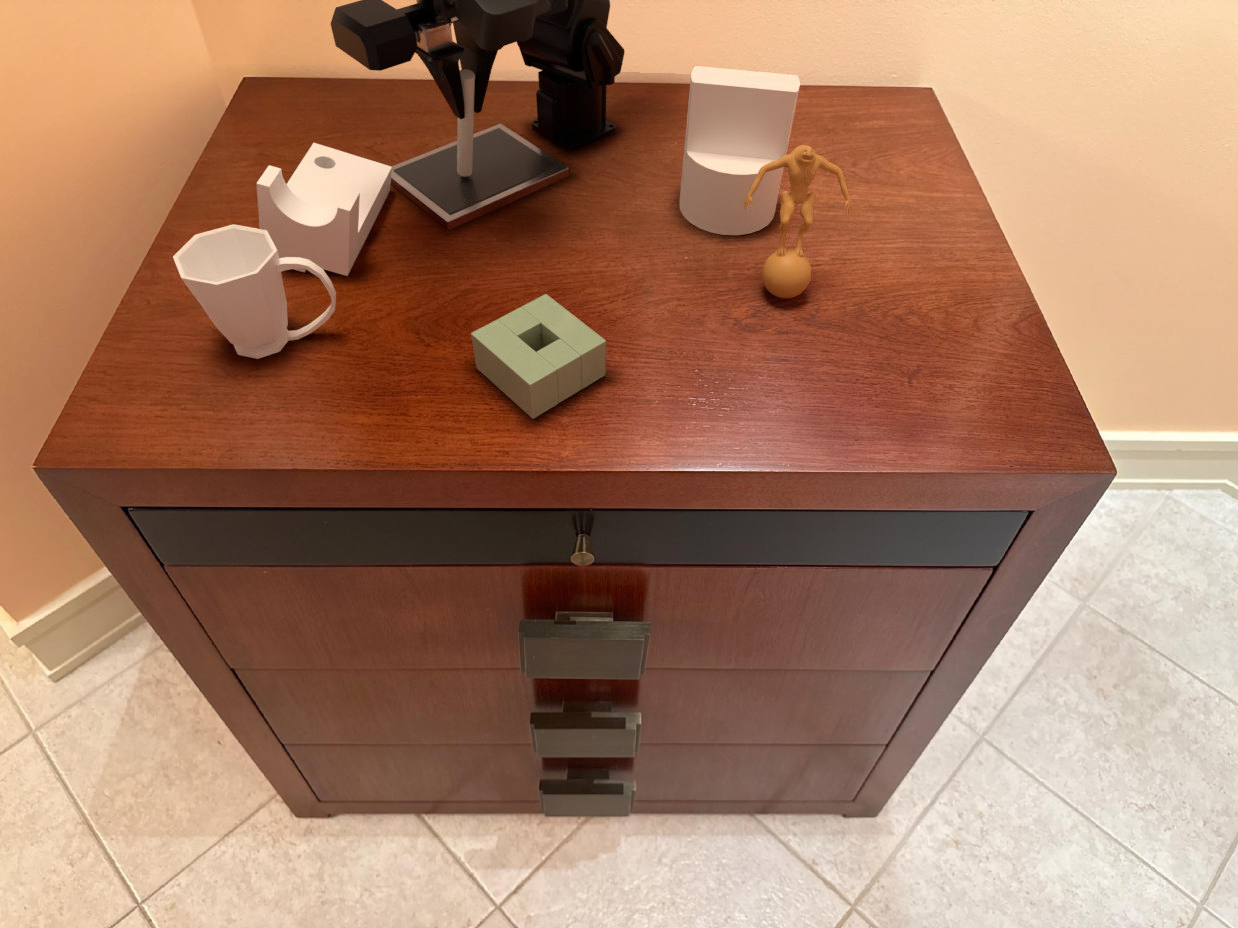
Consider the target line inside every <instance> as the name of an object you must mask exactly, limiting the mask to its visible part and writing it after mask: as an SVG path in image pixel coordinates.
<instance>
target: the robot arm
mask: <svg viewBox="0 0 1238 928" xmlns="http://www.w3.org/2000/svg"><path fill="white" fill-rule="evenodd" d="M610 10H611V1H610V0H416V3H413V4H410V5H407V6H403V7H400V8H396V7H394V6H392V5H391V4H389V3H387V2H386V1H384V0H357V1H354V2H350V3H347V4H343V5H340V6H336V7H335V9H334V11H333V14H332V16H331V21H330V27H331V32H332V36H333V40H334V45H335V47H336V48H337V49H339V50H341V52H342V53H345V54H346V55H348V56H349V57H350V58H352V59H353V60H354V61H356V62H358V63H359V64H360V65H362V66H363V67H365V68H367V69H368V70H369V71H379V72H381V71H384V70H387V69H391V68H394V67H397V66H400V65H402V64H405V63H409V62H411V61H412V59H413V57H414V56H415V54H416V55H417V56H418V57H419V59H420V60H421V61H422V63H423V64H424V66H425V67H426V69H427V70H428V72H429V73H430V76H431V77H432V78H433V81H434V82H435V84H436V85H437V88H438V89H439V91H440V93H441V94H442V96H443V98H444V99H445V101H446V103H447V105H448V107H449V108H450V110H451V112H452V114H453V115H454V116H455V117H456V118H457V117H458V118H459V119H463V118H465V105H464V97H463V90H462V83H461V77H460V70H463V69H468V70H471V71H472V72H473V73H474V74H475V92H474V113H476V114H479V113H481V112H482V110H483V105H484V101H485V98H486V94H487V89H488V86H489V82H490V78H491V74H492V69H493V66H494V63H495V60H496V57H497V56H498V55H497V54H498V52H499V51H500V50H502V49H503V48H504V47H505V46H508V45H511V44H515V43H516V44H517V46H518V49H519V51H520V55H521V57H522V61H523V63H524V66H526V67H529V68H530V67H531V68H535V69H538V70H540V71H538V72H537V77H538V79H537V80H538V89H537V90H536V92H535V97H536V114H537V119H534V120H532V121H531V128H532V129H534V130H536V131H537V132H539V133H540V134H542V135H543V136H545V137H546V138H548V139H549V140H551V141H553V142H554V143H556V144H557V145H559V146H561V147H563V148H564V149H565V150H568V151H573V150H576V149H578V148H581V147H583V146H585V145H587V144H590V143H592V142H594V141H597V140H599V139H602V138H604V137H607V136H608V135H611V134H613V133H615V132H617V125H616V124H614V123H613V122H611V121H609V120H608V119H607V86H613V84H615V82H616V77H617V76H618V75H620V74H621V71H622V67H623V62H624V58H625V48H624V47H623V46H622V44H620V42H619V41H618V40H617V39H616V38H615V36H614V35H613V34H612V33H611V32H610V30H609V29H608V23H609V22H608V21H609V16H610ZM452 25H453V31H454V37H455V41H454V40H453V35H452ZM460 68H461V69H460Z"/></svg>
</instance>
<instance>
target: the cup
mask: <svg viewBox="0 0 1238 928" xmlns="http://www.w3.org/2000/svg"><path fill="white" fill-rule="evenodd" d="M172 258H173V261H174V263H175V266H176V268H177V271H178V273H179V274H178V275H179V276H180V278H181V280H182V281H183V283H184V284H185V286H186V287H187V288H188V290H189V291H190V293H191V294H192V295H193V297H194V298H195V299H196V301H197V302H198V303H199V305H200V306H201V308H202V309H203V311H204V313H205V314H206V315H207V317H208V318H209V320H210V321H211V322H212V324H213V325H214V326H215V328H216V329H217V330H218V331H219V333H221V334H222V335H223V336H224V337H225V339H226V340H227V341H228V342H229V343H230V344H232V345H233V348H234V349H235V352H236V354H237V355H238V356H241V357H247V358H252V359H257V360H259V359H261V358H264V357H267V356H271V355H274V354H276V353H279V352H281V351H282V349H283V348H284V347H285V346H286V344H287V343H288V342H289V341H296V340H300V339H302V338H305V337H306V336H309V335H310V334H312V333H313V332H315V331H316V330H317V329H319V328H320V327H321V326H323V325H324V324H325V323H326V322H328V321H329V320H330V318H331V316H332V315H333V314H334V313H335V311H336V305H337V291H336V289H335V286H334V284H333V282H332V280H331V279H330V277H329V276H328V274H327V273H326V270H324V269H322V268H321V267H319V266H318V265H316V264H315V263H313V262H312V261H310V260H308V259H304V258H300V257H284V258H279V257H278V251H277V249H276V247H275V245H274V243H273V241H272V239H271V237H270V235H269V233H268V232H267V230H262V229H260V228H256V227H251V226H245V225H240V224H234V223H233V224H229V225H225V226H221V227H219V228H214V229H211V230H207V231H204V232H200V233H196V234H194V235H193V236H192V237H191V238H190V239H189V240H188V241H187V242H186V243H185V244H184V245H183V246H182V247H181V248H180V249H179V250H178V251H177V252H176V253H175V254H174V255H173V256H172ZM294 268H303V269H307V270H306V271H308V272H310V273H311V274H313V275H314V276H315V277H317V278H319V280H320V282H322V284H323V285H324V287H325V288H326V290H327V292H328V295H329V297H330V299H331V301H330V302H331V303H330V305H329V306H328V307H327V309H325V311H324V312H323V313H321V314H320V315H319V316H318V317H317V318H315V319H313V320H312V321H311V322H310V323H309V324H307V325H305V326H303V327H300V328H299V329H295V330H288V325H289V324H288V323H289V321H288V301H287V297H286V290H285V286H284V281H283V275H282V272H285V271H289V270H294Z"/></svg>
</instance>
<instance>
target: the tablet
mask: <svg viewBox="0 0 1238 928" xmlns="http://www.w3.org/2000/svg"><path fill="white" fill-rule="evenodd" d="M390 166H391V165H390ZM391 167H392V173H391V186H392V187H394V188H395V189H396V190H397V191H399V192H400V194H403V195H404V196H405V197H406V198H408V199H409V200H410V201H412V202H413V203H414V204H416V205H417V207H419V208H421V210H423V211H424V212H425V213H427V214H428V215H429V216H430V217H432V218H433V219H434V220H435V221H436V222H437V223H439V224H440V225H442V226H443V227H444V228H446V229H447V230H448V231H451V230H453V229H455V228H458V227H459V226H462V225H464V224H466V223H468V222H470V221H473V220H475V219H478V218H479V217H481V216H483V215H486V214H488V213H491V212H492V211H495V210H497V209H499V208H502V207H503V206H506V205H508V204H510V203H512V202H515V201H517V200H520V199H521V198H525V197H526V196H529V195H530V194H532V193H535V192H536V191H537V192H538V191H539V190H541V189H544V188H546V187H548V186H550V185H553V184H555V183H557V182H559V181H561V180H563V179H566V178H568V177H570V168H569V166H567V165H566V164H564V163H562V162H560V161H559V160H558V159H556V158H555V157H553V156H552V155H550V154H548V153H547V152H546V151H544V150H542V149H541V148H539V147H538V146H536V145H535V144H534V143H532V142H530V141H529V140H527V139H525V138H524V137H522V136H521V135H520V134H518V133H516V132H515V131H513V130H511V128H508V127H507V126H506V125H504V124H502V123H497V124H496V125H493V126H491V127H488V128H486V129H483V130H480V131H477V132H475V133H473V160H472V174H471V175H470V176H468V177H466V178H464V177H461V175H459V174H458V172H457V140H455V141H452V142H449V143H447V144H445V145H442V146H440V147H437V148H435V149H432V150H430V151H427V152H425V153H422V154H420V155H417V156H415V157H412V158H410V159H406V160H404V161H401V162H399V163H396V164H394V165H392V166H391Z"/></svg>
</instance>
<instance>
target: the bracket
mask: <svg viewBox="0 0 1238 928" xmlns="http://www.w3.org/2000/svg"><path fill="white" fill-rule="evenodd" d="M391 173H392V167H391V165H387V164H385V163H381V162H378V161H374V160H371V159H368V158H366V157H362V156H358V155H356V154H352V153H349V152H346V151H343V150H342V151H341V150H340V149H336V148H333V147H330V146H326V145H323V144H320V143H316V142H313V143H312V144H311V146H310V147H309V149H308V150H307V152H306V154H305V155H304V157H303V158H302V159H301V161H300V162H299V164H298V166H297V167H296V169H295V171H294V172H293V174H292V175H291V177H290V178H289V180H288V181H287V183H286V180H285V179H284V175H283V171H282V168H280V167H277V166H273V165H268V166H267V167H266V169H265V170H264V171H263V173H262V175H260V178H259V179H258V180H257V182H256V196H257V212H258V224H259V225H258V227H259V228H258V229H262V230H267V232H268V233H269V235H270V237H271V239H272V241H273V243H274V245H275V247H276V249H277V251H278V257H279V258H284V257H300V258H304V259H308V260H310V261H312V262H313V263H315V264H316V265H318V266H319V267H321V268H322V269H323V270H324V271H328V272H332V273H335V274H339V275H341V276H346V277H348V276H349V274H350V273H351V270H352V268H353V266H354V264H355V262H356V260H357V258H358V256H359V254H360V252H361V250H362V249H363V246H364V244H365V242H366V240H367V238H368V236H369V234H370V232H371V230H372V228H373V226H374V224H375V222H376V220H377V218H378V217H379V214H380V212H381V210H382V208H383V206H384V204H385V202H386V200H387V198H388V196H389V194H390V192H391V186H392V185H391ZM293 270H295V271H298V272H302V273H306V271H308V270H307V269H303V268H294V269H293Z"/></svg>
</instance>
